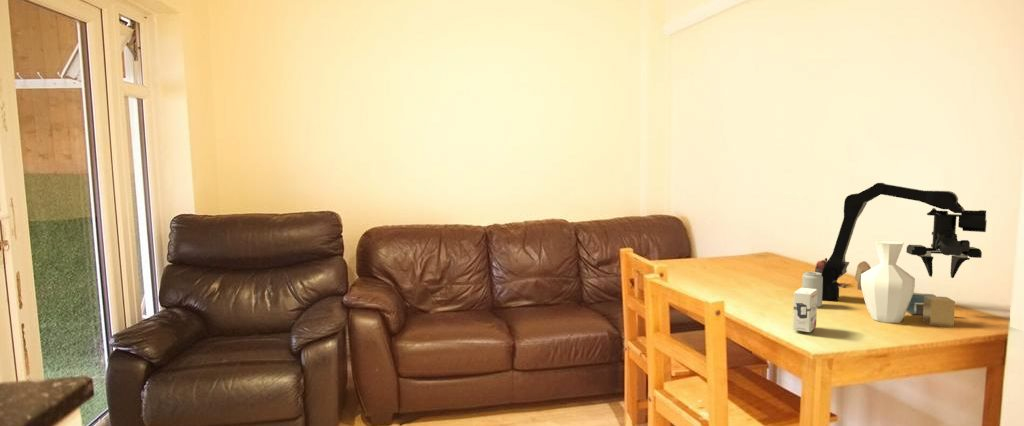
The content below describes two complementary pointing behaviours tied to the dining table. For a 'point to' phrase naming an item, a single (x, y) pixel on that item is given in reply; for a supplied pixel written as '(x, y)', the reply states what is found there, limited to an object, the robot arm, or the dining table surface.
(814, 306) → the ink box
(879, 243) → the vase
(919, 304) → the fixed jaw
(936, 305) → the block
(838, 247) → the robot arm
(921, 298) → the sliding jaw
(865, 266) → the stone
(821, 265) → the stuffed fox
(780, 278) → the dining table surface
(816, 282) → the beverage can
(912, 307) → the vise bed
